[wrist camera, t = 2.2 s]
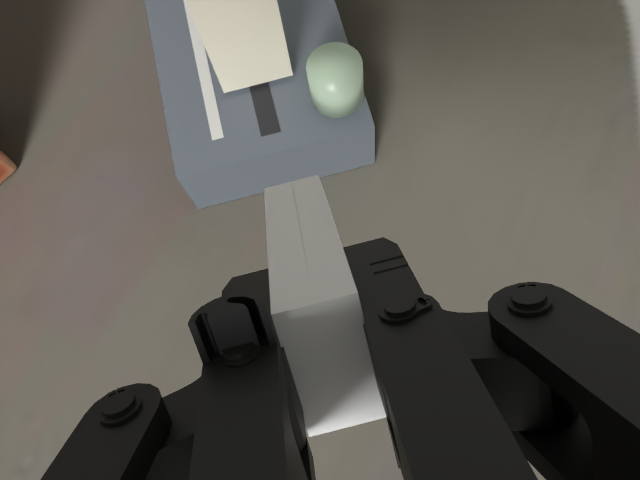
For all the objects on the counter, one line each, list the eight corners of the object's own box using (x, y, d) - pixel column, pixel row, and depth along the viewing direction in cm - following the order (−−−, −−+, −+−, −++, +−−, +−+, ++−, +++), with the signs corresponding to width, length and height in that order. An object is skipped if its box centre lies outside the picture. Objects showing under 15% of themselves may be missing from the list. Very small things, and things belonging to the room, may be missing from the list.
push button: (369, 110, 29) (369, 81, 27) (318, 123, 29) (313, 96, 27) (356, 67, 30) (354, 36, 28) (305, 80, 30) (300, 50, 28)
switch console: (374, 163, 33) (374, 116, 29) (198, 209, 33) (170, 170, 29) (300, -74, 40) (291, -143, 35) (152, -36, 39) (123, -100, 35)
